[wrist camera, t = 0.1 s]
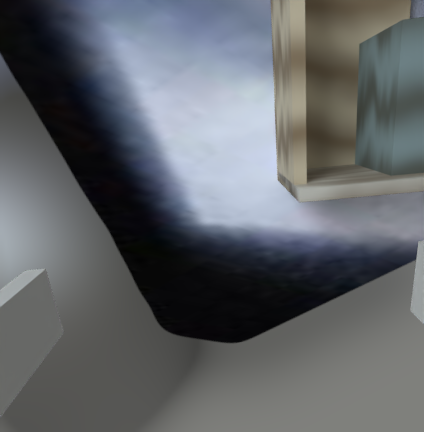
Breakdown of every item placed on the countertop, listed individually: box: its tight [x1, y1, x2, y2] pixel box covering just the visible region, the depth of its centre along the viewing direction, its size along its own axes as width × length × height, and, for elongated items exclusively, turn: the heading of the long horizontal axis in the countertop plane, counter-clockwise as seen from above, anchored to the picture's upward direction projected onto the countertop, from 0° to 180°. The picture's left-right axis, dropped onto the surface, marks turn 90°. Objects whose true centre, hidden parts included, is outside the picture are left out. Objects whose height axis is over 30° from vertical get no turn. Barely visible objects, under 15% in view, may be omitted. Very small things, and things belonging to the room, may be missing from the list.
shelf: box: [271, 0, 424, 202], centre depth 28 cm, size 24×14×11 cm, turn 6°
